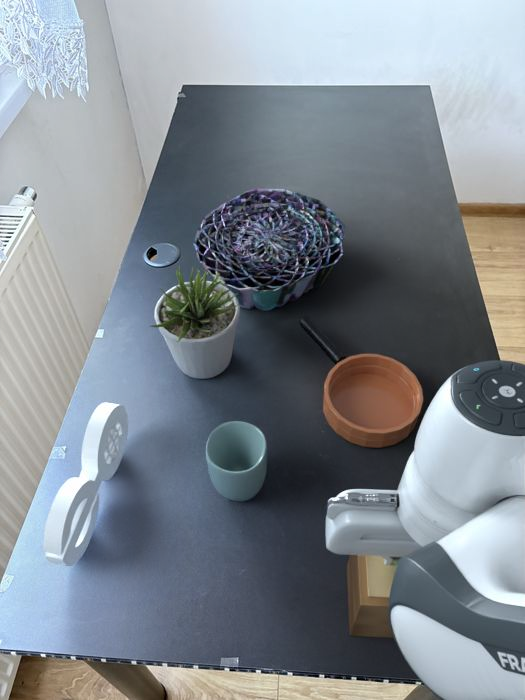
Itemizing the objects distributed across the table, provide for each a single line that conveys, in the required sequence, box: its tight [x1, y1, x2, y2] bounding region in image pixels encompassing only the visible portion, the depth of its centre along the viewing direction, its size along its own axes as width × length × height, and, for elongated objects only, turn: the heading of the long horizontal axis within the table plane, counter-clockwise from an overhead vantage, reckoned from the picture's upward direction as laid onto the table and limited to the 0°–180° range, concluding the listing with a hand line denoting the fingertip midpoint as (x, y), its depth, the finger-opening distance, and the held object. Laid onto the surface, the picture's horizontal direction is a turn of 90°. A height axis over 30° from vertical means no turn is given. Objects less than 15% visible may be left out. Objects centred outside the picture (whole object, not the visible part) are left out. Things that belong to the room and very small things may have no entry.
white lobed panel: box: [43, 402, 129, 567], centre depth 78 cm, size 22×2×10 cm, turn 169°
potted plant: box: [149, 265, 241, 380], centre depth 89 cm, size 13×14×20 cm
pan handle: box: [298, 316, 347, 366], centre depth 95 cm, size 10×2×2 cm, turn 32°
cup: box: [205, 420, 268, 502], centre depth 79 cm, size 8×8×10 cm
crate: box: [346, 555, 395, 639], centre depth 68 cm, size 12×8×12 cm, turn 87°
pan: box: [322, 353, 424, 449], centre depth 89 cm, size 14×14×4 cm
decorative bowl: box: [192, 188, 346, 312], centre depth 107 cm, size 26×28×10 cm
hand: (419, 559), depth 61 cm, fingers closed on block, 4 cm apart
